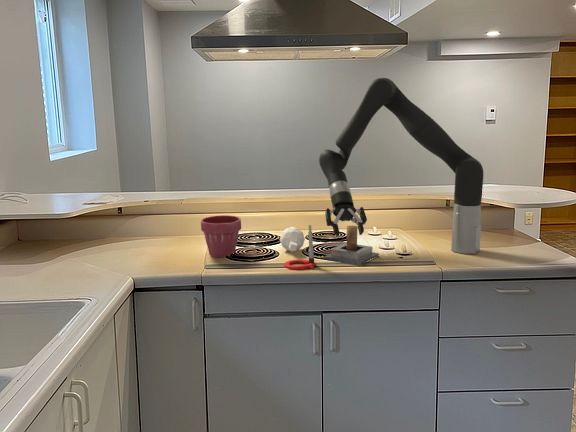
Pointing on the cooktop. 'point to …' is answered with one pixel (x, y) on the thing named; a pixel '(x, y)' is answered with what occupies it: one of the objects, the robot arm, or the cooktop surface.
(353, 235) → the dowel pin
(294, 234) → the perfume bottle
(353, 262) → the plate
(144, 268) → the cooktop surface
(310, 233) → the tow hook
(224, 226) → the plant pot
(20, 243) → the cooktop surface
